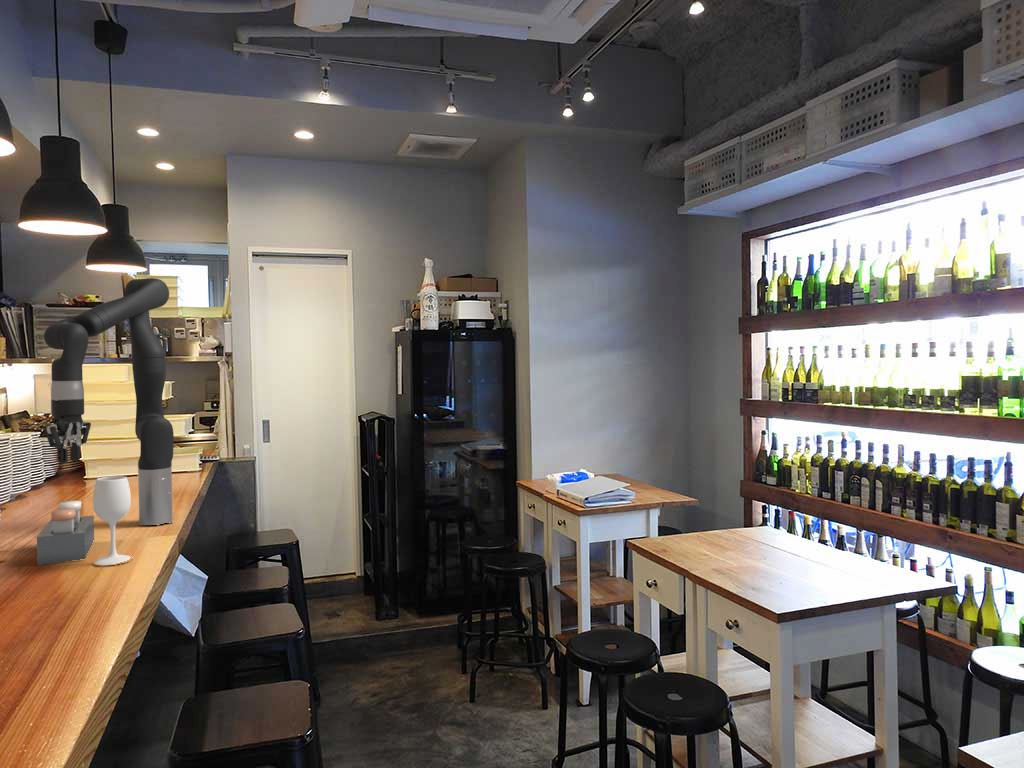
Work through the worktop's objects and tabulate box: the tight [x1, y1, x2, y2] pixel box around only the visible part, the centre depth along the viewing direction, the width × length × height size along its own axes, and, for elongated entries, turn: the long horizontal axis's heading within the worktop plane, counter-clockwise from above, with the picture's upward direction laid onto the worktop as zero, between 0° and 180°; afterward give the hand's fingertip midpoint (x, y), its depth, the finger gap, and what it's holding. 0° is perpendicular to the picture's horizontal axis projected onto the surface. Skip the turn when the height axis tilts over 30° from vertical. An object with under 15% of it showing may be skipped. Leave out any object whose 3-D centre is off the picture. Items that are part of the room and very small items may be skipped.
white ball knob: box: [58, 500, 82, 522], centre depth 189 cm, size 5×5×7 cm
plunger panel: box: [36, 515, 95, 566], centre depth 184 cm, size 10×22×7 cm, turn 26°
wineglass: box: [92, 475, 132, 565], centre depth 175 cm, size 9×9×21 cm
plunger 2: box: [50, 509, 76, 534], centre depth 178 cm, size 5×5×7 cm
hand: (69, 461), depth 189 cm, fingers open, 3 cm apart
